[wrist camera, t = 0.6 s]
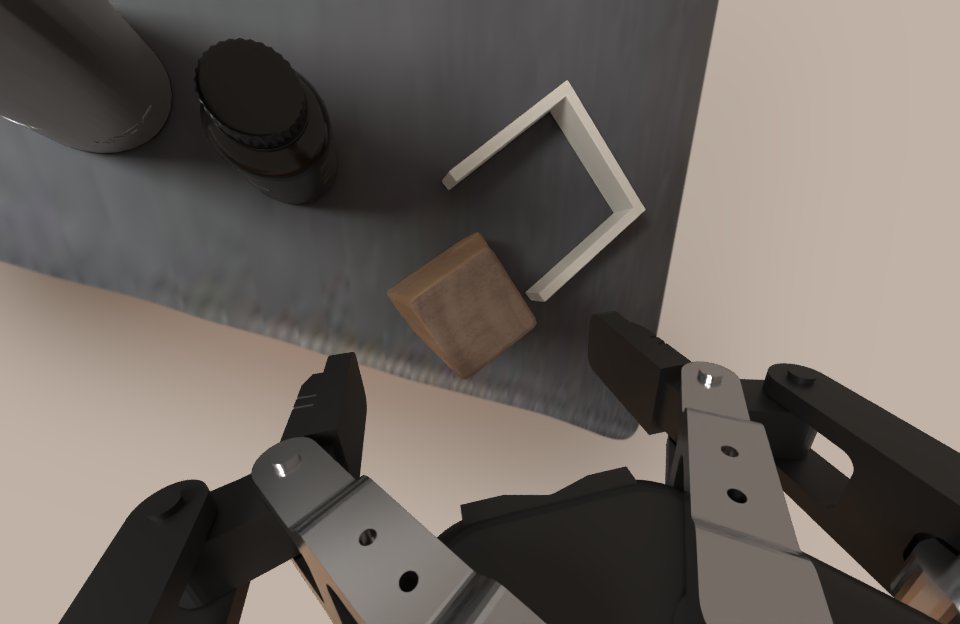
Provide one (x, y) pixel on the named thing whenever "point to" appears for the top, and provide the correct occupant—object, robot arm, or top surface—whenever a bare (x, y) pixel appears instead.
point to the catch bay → (596, 163)
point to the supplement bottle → (266, 120)
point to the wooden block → (464, 306)
